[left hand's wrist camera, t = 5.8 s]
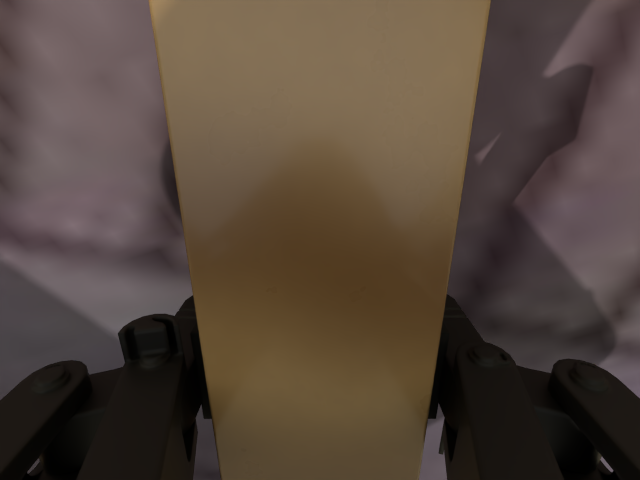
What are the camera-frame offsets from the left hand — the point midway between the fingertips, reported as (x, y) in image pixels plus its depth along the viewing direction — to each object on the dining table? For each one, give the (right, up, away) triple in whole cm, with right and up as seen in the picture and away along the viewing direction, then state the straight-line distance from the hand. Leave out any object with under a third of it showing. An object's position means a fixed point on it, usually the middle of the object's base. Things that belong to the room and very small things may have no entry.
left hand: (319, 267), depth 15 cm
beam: (0, +23, -8) cm, 24 cm away
